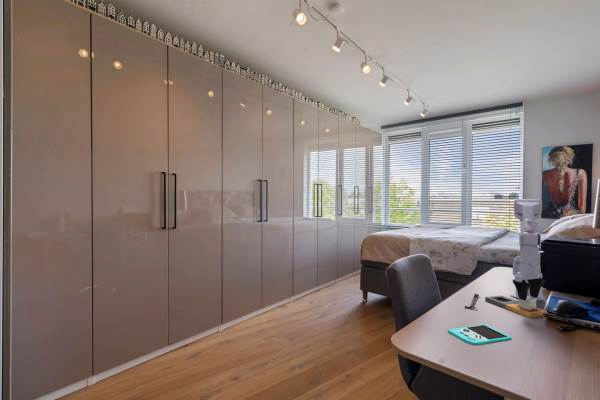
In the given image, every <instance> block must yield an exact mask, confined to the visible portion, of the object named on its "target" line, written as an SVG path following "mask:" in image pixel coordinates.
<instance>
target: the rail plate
mask: <svg viewBox="0 0 600 400" xmlns="http://www.w3.org/2000/svg"><path fill="white" fill-rule="evenodd" d="M484 301H485V302H488V303H490V304H493V305H496V306H498V307H500V308H503V309H506V310H508V311H512V312H514V313H517V314H519V315H521V316H524V317H527V318H530V319H531V318H537V317H544V316H543V313H544V312H545V311H546V310H545V309H542V308H539V307H536V311H534V312H528V311H526V310H523V309H520V308H519V300H515V299H512V298H509V297H506V296H505V295H494V296H493V295H492V296H485V297H484Z"/></svg>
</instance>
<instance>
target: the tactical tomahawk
mask: <svg viewBox="0 0 600 400" xmlns="http://www.w3.org/2000/svg"><path fill="white" fill-rule="evenodd" d="M479 297H480V295H479V294H478V293H474V294H473V298H472V301H471V303H470V305H469V306H467V305H465V306H464V309H469V310H470V311H476V312H478V310H479V309H476V307H475V306H476V303H477V301H478V299H479Z"/></svg>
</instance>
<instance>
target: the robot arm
mask: <svg viewBox="0 0 600 400" xmlns="http://www.w3.org/2000/svg"><path fill="white" fill-rule="evenodd" d="M513 202H514V203H513V213H514V218H516V219H518V220H519V222H520V227H519V229H520V233H519V236H518V237H519V238H518V241H519V242H518V243H519V253H520V254H519V255H518V256H516V257H514V258H513V260H512V275H513V277H514V279H512V284H514V287H515V293H514V294H510V297H513V298H516V299H518V300H519V299H521V300H526V299H527V296H531V297H534V298H536V302H537V301H538V302H539V301H544V300H545V299H544V298H542V291H543V290H542V286H543V285H544V284H545V282H546V280H545V279H543V273H542V272H541V268H542V267H541V263H540V261H539V259H540V248H541V246H542V245H541V244H542V235H541V233H540V231H539V224H538V222H537V221H536V220H539V219H540V217H541V216H542V211H543V200H542V199H541V198H538V199H529V198H528V199H527V198H526V199H523V198H515V199H514V201H513Z"/></svg>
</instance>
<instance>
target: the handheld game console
mask: <svg viewBox="0 0 600 400" xmlns="http://www.w3.org/2000/svg"><path fill="white" fill-rule="evenodd" d="M447 333H449V334H450V335H452V336H454V337H456V338H458V339H460V340H461V341H463V342H465V343H467V344H471V345H475V346H481V345H485V344H492V343H497V342H504V341H511V340H512V339H513V338H512V336H511V335H508V334H506V333H504V332H502V331H501V330H498V329H496V328H493V327H491V326H489V325H488V324H478V325H471V326H465V327H464V326H463V327H456V328H450V329H447Z"/></svg>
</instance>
